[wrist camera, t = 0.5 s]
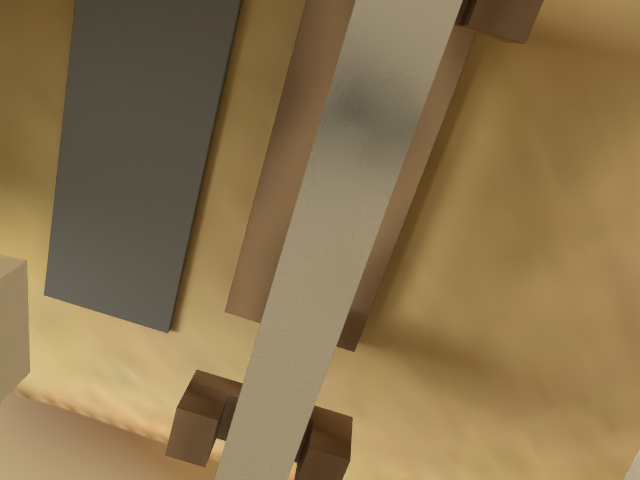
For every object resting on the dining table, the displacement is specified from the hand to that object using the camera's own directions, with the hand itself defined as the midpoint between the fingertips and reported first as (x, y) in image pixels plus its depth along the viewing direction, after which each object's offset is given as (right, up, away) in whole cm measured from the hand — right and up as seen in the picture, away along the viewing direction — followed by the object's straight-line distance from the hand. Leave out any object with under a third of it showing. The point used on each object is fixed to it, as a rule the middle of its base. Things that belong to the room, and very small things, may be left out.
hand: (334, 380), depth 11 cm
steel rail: (0, +3, +12) cm, 12 cm away
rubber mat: (-12, +12, +25) cm, 30 cm away
